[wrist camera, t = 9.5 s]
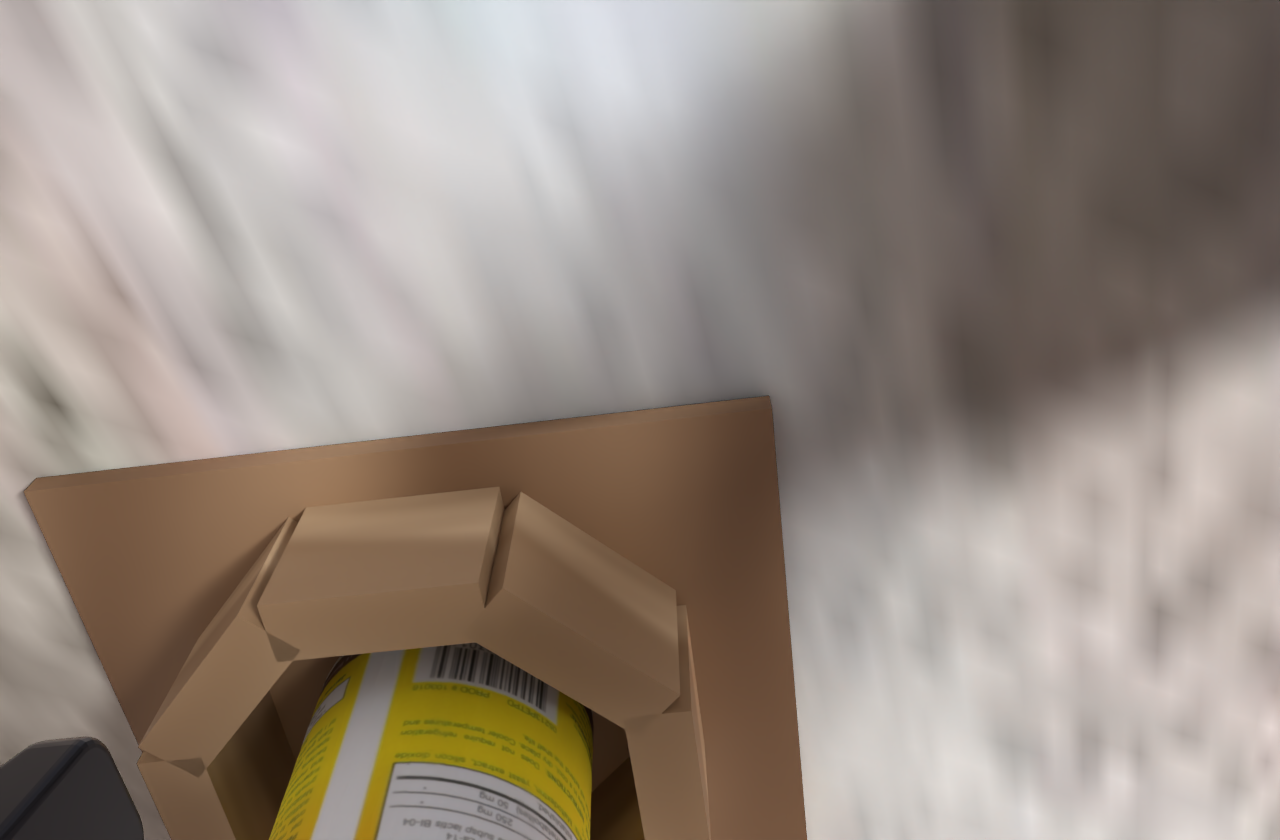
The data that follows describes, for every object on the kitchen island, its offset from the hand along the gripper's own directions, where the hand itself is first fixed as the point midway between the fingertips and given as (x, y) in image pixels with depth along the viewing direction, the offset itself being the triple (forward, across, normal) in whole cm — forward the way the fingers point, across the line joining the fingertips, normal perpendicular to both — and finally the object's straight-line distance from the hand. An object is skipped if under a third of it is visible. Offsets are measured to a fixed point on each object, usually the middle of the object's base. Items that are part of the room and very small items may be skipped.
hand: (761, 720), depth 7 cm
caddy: (+12, +6, +10) cm, 17 cm away
